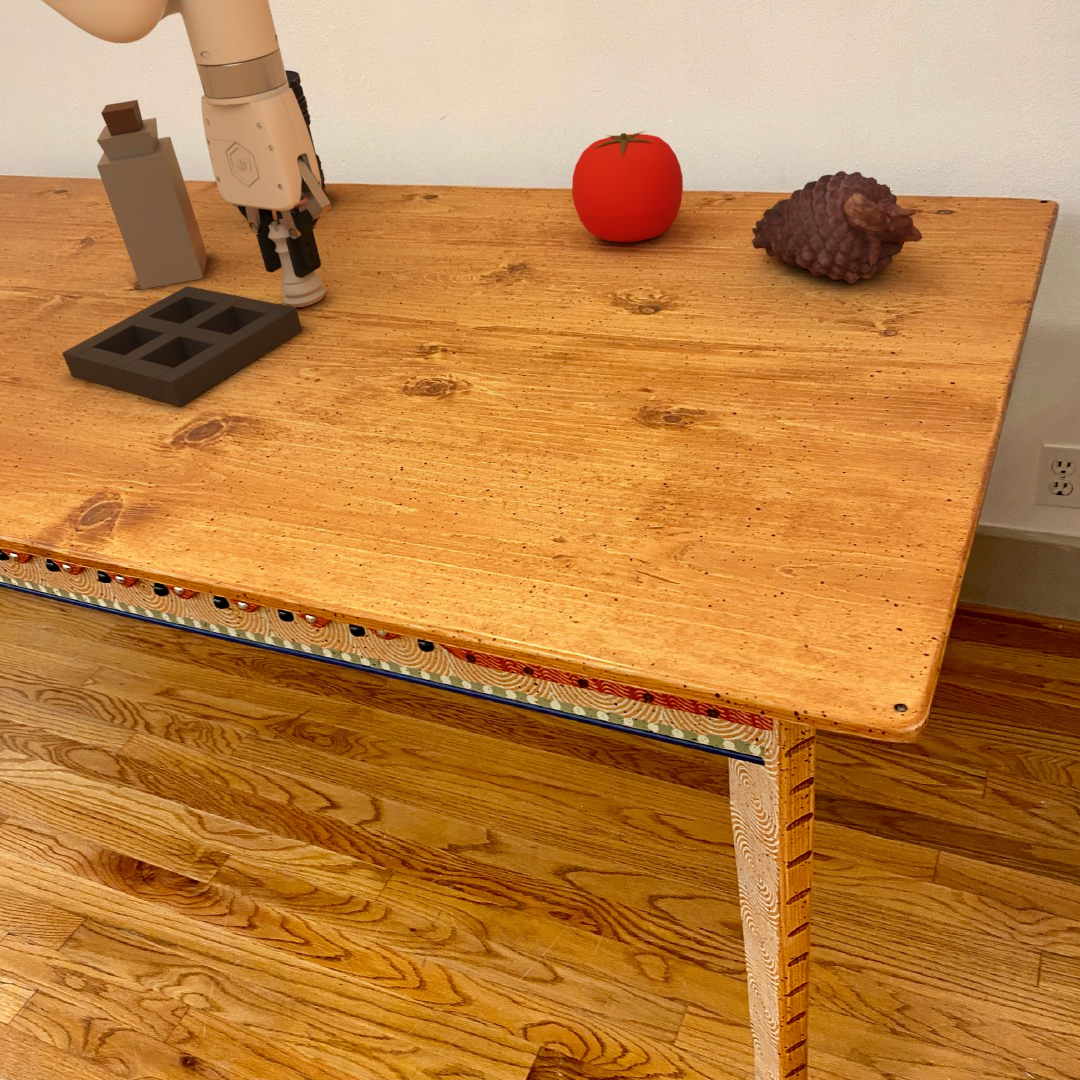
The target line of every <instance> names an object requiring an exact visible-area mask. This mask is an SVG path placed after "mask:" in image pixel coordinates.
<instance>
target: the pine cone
mask: <svg viewBox="0 0 1080 1080" xmlns="http://www.w3.org/2000/svg"><path fill="white" fill-rule="evenodd" d="M897 200H898V197H897V196H896V194H894V193H892V192H891V187H889V186H888V185H887V184H886V183H883V184H880V183H878V179H876V178H874V177H873V176H870V177H867V176H863V175H862V173H861V172H860V171H854V172H852V173H846V172H845V171H844V170H840V171H838V172H836V173H835V174H824V175H821V176H820V177H819V178H818V179H817V180H814V181H813V180H812V181H808V182H807V183H806V184H804V186H803V188H802V189H796V190H793V192H792V193H791V195H790V197H789V198H786V199H781V200H778V201H777V202H776V203H775V204H773V206H772V207H771V208H767V209H766V210H764V212H763V214H762V215H763V217H762V218H761V219H760V220H757V221H756V222H755V227H752V228H751V229H752V233H753V235H754V238H752V240H751V244H752V246H753V249H756V250H758V249H763V250H765V254H766V256H769V257H771V258H773V257H775V258H776V259H778V261H779V262H780V263H782V264H788V265H789V266H790V267H792V268H798V267H799V268H803V269H808V270H809V272H811V274H812V275H813V276H814V277H817V278H818V277H821V276H823V275H827V276H828V278H830V279H832V280H833V281H839V280H844V281H845V282H846V283H848V285H854V284H855V283H856V282H857V281H858V280H859V279H861V278H862V279H864V280H867V279H868V280H869V279H871V278H873V277H874V276H875V274H876V272H877V271H878V270H880V269H884V268H887V267H889V266H890V265H891V264H892V262H893V261H894V260H893V257H894V256H896V255H898V254H901V252H902V249H903V248H904V244H905V243H910V242H914V243H916V242H919V241H921V240H922V239H923V237H924V236H923V234H922V233H921V231H920V230H919V229H918V228H917V227H916V226H915V225H914V220H913V218H912V216H915V215H916V213H917V211H916V209H915V208H914V209H909V208H903V207H901V205H898V204H897Z"/></svg>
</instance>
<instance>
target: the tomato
mask: <svg viewBox="0 0 1080 1080" xmlns="http://www.w3.org/2000/svg"><path fill="white" fill-rule="evenodd" d="M645 132H646V133H647V130H644V131H641V132H635V133H630V134H628V133H626V132H621V133H620V134H617V135H610V136H607V137H604V138H601V139H598V140H596V141H593V142H591V144H589V146H588V147H587V148H585V149H584V150H583V151H582V153H581V154H580V155H579V158H578V159H577V162H576V164H575V166H574V170H573V174H572V182H571V183H572V184H571V185H572V186H571V196H572V200H573V205H574V208H575V211H576V214H577V216H578V218H579V220H580V222H581V223H582V224H583V226H584V227H585V229H586V230H587V231H588V232H589V233H590V234H591V235H593V237H596V238H597V239H601V240H603V241H608V242H615V243H634V242H641V241H646V240H650V239H652V238H656V237H658V236H661V235H662V234H663V233H665V232H666V231H667V230H668V229H669V228H670V227H672V225H673V223H674V222H675V220H676V219H677V217H678V214H679V211H680V208H681V204H682V198H683V190H684V183H683V178H684V177H683V172H682V168H681V164H680V162H679V159H678V156H677V155H676V153H675V152H674V150H673V148H672V147H671V146H670V144H669V143H668V142H666V141H665V140H664V139H662V138H661V137H659V136H657V135H652V134H645Z"/></svg>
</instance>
